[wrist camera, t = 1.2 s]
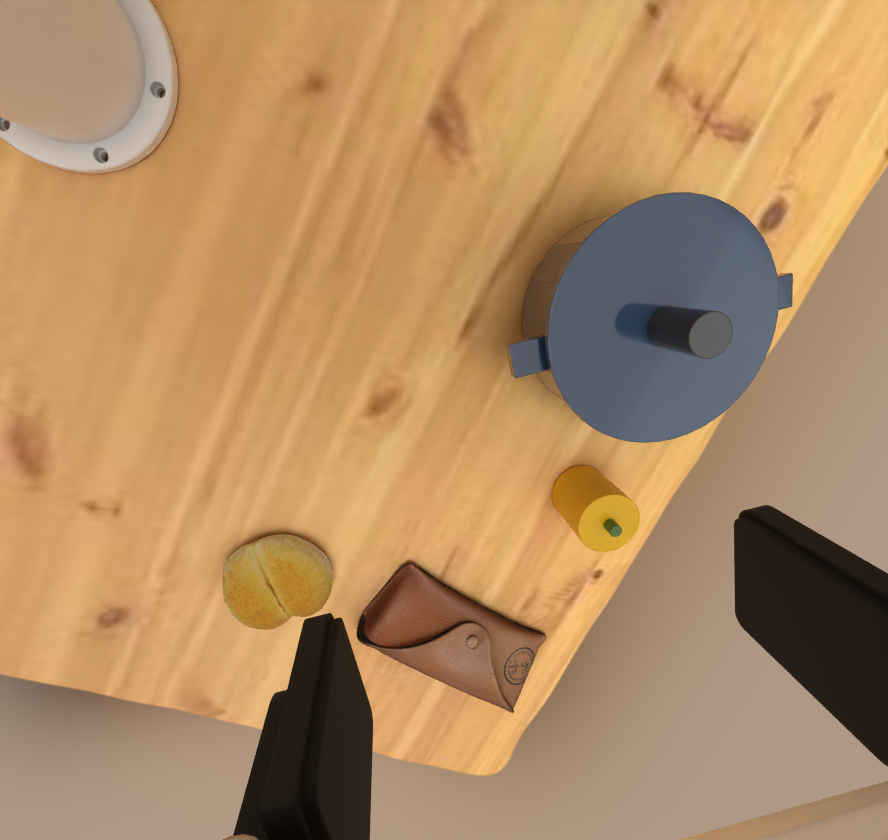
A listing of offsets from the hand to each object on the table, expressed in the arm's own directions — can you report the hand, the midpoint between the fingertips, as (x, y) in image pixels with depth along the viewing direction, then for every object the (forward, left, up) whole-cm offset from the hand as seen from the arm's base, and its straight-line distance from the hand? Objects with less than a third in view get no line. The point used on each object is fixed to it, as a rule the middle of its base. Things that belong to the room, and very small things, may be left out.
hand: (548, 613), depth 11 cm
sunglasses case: (+26, -3, -29) cm, 39 cm away
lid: (0, +16, -22) cm, 27 cm away
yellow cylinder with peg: (+15, +11, -29) cm, 34 cm away
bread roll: (+15, -17, -29) cm, 37 cm away
